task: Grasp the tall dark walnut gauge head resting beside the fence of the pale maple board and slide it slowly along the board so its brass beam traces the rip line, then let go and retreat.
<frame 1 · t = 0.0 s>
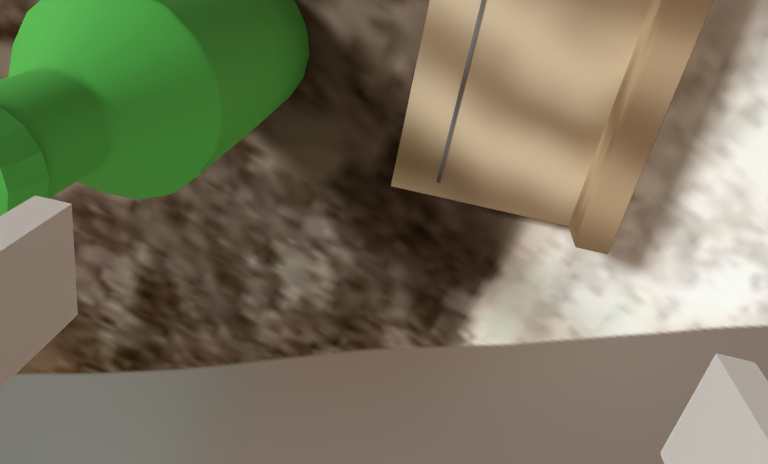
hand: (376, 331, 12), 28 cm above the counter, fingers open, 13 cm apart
bottle: (246, 40, 38), on the counter
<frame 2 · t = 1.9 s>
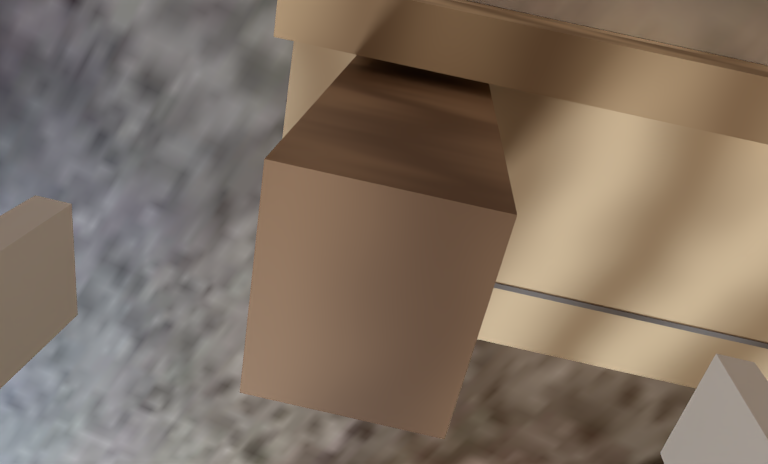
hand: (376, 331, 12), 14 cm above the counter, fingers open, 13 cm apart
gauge: (368, 309, 20), point 7 cm above the counter, slide at 0.0 cm
board: (631, 217, 25), on the counter
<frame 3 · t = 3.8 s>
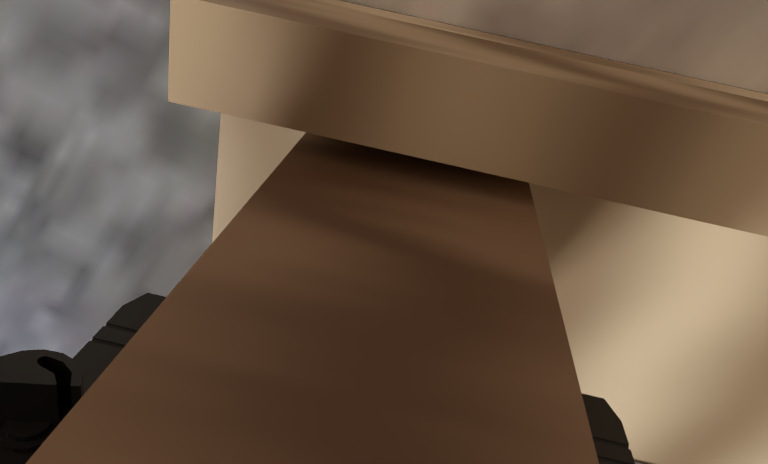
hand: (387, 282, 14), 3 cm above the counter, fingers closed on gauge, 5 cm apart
board: (728, 347, 17), on the counter
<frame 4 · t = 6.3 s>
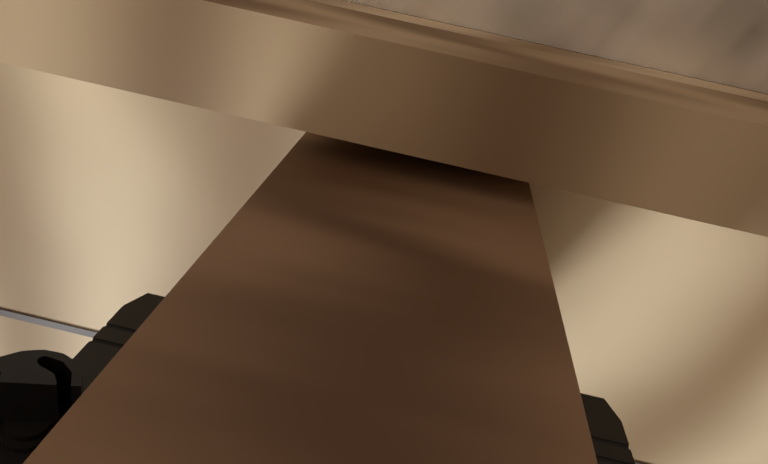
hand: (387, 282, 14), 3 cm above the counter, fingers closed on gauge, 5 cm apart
board: (437, 279, 18), on the counter
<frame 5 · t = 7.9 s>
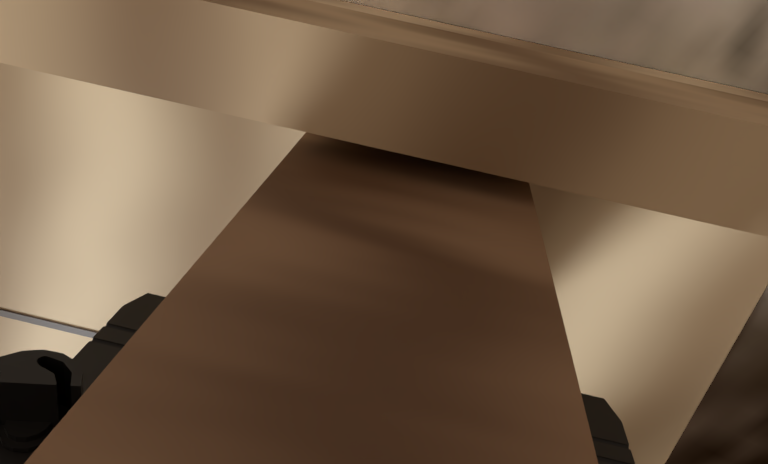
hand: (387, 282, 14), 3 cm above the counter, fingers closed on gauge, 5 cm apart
board: (204, 225, 18), on the counter
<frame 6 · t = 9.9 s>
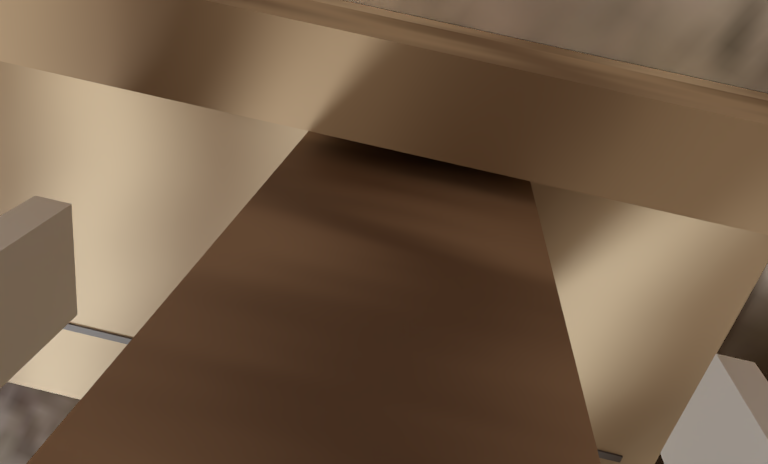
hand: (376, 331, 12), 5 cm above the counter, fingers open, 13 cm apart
board: (198, 222, 18), on the counter
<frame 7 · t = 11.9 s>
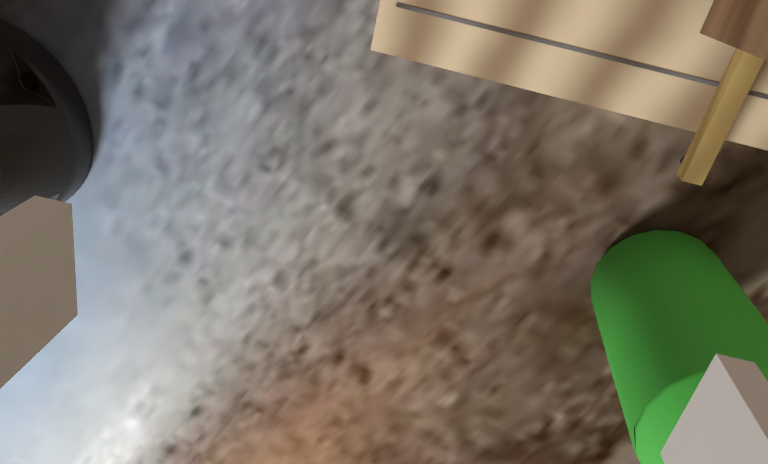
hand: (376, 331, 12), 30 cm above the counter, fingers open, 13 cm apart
bottle: (651, 278, 43), on the counter
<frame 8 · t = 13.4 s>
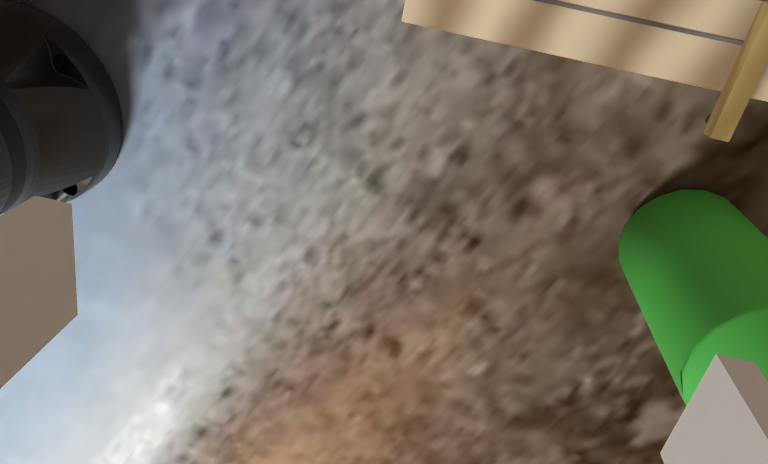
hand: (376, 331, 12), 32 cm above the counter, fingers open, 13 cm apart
bottle: (676, 238, 44), on the counter
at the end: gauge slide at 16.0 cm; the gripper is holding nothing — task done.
